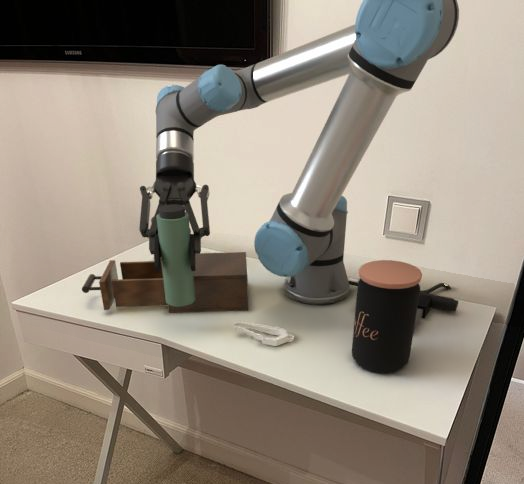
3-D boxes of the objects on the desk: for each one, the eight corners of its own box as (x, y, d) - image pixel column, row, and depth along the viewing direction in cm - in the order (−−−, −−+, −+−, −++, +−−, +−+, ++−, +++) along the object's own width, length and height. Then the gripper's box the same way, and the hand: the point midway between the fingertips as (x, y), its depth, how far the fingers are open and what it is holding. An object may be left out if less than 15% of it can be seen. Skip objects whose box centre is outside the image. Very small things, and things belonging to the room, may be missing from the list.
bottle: (199, 295, 112) (193, 204, 102) (188, 308, 107) (179, 213, 97) (173, 292, 113) (164, 202, 103) (160, 304, 108) (149, 211, 98)
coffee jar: (345, 347, 106) (352, 261, 96) (398, 344, 106) (410, 258, 97) (358, 377, 97) (367, 285, 87) (416, 374, 97) (431, 282, 88)
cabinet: (168, 313, 119) (164, 277, 115) (174, 287, 131) (170, 254, 126) (248, 310, 120) (247, 274, 115) (246, 285, 131) (245, 251, 127)
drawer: (82, 310, 118) (76, 282, 115) (94, 287, 129) (89, 260, 126) (179, 307, 119) (176, 279, 116) (183, 284, 130) (180, 258, 126)
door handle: (441, 330, 106) (460, 295, 118) (347, 308, 115) (373, 277, 126) (439, 344, 108) (458, 308, 119) (346, 321, 117) (372, 290, 128)
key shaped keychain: (227, 337, 109) (226, 330, 108) (236, 326, 113) (236, 319, 112) (287, 349, 105) (287, 341, 104) (295, 337, 109) (295, 329, 108)
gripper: (223, 170, 112) (225, 274, 107) (131, 172, 111) (129, 277, 106) (221, 149, 105) (224, 259, 99) (123, 151, 104) (120, 262, 99)
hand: (175, 268), depth 103 cm, fingers closed on bottle, 6 cm apart
